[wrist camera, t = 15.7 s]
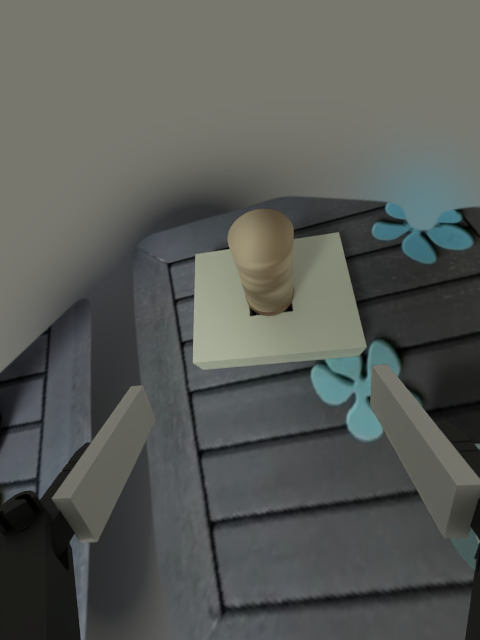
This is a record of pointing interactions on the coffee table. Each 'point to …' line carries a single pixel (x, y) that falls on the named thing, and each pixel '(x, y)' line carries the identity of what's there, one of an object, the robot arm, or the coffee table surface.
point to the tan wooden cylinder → (264, 259)
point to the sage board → (285, 328)
